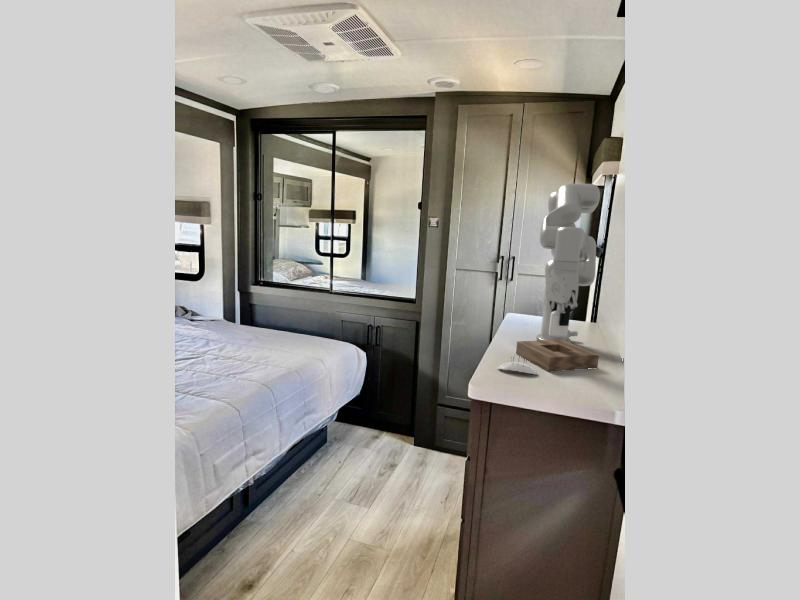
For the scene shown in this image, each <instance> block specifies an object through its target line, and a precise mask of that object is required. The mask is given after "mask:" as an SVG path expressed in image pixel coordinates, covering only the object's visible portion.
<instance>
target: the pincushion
mask: <svg viewBox="0 0 800 600" xmlns="http://www.w3.org/2000/svg"><path fill="white" fill-rule="evenodd" d="M512 358H513V359H512ZM520 358H521V357H520V356H518V361H509V362H505V363H503V364H500V365H499V366H497V367H498V368H497V369H498V370H503V371H505V370H506V371H508V370H509V371H510V370H511V372H516V373H517V374H518V373H522V374H521V375H524V374H533V375H536V376H537V375H538V376H539V374H538V371H537V370H536V369H535V368H534V367H532V366H530V365H528V364H527V362H528V361H527V360H525V359H524V358H523V362H520ZM510 359H511V360H515V356H513V357H512V356H511V358H510ZM525 362H526V363H525Z"/></svg>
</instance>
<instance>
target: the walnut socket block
mask: <svg viewBox="0 0 800 600" xmlns="http://www.w3.org/2000/svg"><path fill="white" fill-rule="evenodd" d="M516 354H517V355H516ZM515 355H516V356H518V355H519V356H521V357H520V358H522V359H523V360H524V359H526V360H528V361H527V362H529V361H530V362H529V363H531V364H533V365H535V366H536V365H537V367H538V366H539V368H540V369H541V370H544V371H546V372H548V373H550V372H551V371H554V372H563V371H562V370H569V371H576V370H575V369H585V370H589V369H588V368H597V369H598V367H599V366H598V365H599V359H600V354H598V353H595V352H594V351H591V350H589V349H587V348H584V347H581V346H578V345H575V344H573V343H572V342H571V343H569V342H567V341H564V340H542V341H539V340H523V341H522V340H519V341H516V350H515ZM519 356H518V357H519ZM526 360H525V361H526ZM551 373H552V372H551Z"/></svg>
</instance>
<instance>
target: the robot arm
mask: <svg viewBox="0 0 800 600" xmlns="http://www.w3.org/2000/svg"><path fill="white" fill-rule="evenodd" d="M600 199H601V192H600V188H599V187H598V186H597V184H593V183H567V184H566V183H565V184H563V185H561V186H560V187H559V189H558V190H556V191H553V192H552V193H551V194H550V195H549V196H548V204H547V205H548V209H547V210H548V213H547V214H546V216H544V218H543V219H542V222H541V225H540V226H541V227H540V233H539V244H540V246H541V247H542V249H543V248H544V249H546V250H551V251H550V252H551V255H552V257H553V258H552V259H549V260H548V261H547V262H546V265H545V267H544V275H545V278H544V279H545V280H544V281H545V287H544V289H545V290H544V302H543V310H542V319H541V321H542V322H541V330H540V333H539V334H537V335H536V336H535V340H536V341H542V340H564V341H567V342H569V343H571V344H572V342H571V341H572V340H571V339H570V337H577V336H579V332H578V330H575V331H574V330H573V331H571V330H570V329H568V335H567V337H564V338H560V337H551V336H550V335H549V326H550V317H551V313H552V312H553V311H556V310H557V304H558V303H560V304H562V313H560V320H559V325H560V326H568V325H570V316H571V314H572V312H573V311H574V309H576V308H578V305H579V304H578V302H577V301H578V298H579V297H578V296H579V287H588V286H589V287H590V286H591V285H593V283H594V282H595V279H596V264H597V262H596V261H597V260H596V259H597V243H596V240H595V238H593V236H590V235H587V233H586V231H585V230H584V229H583V228H581V227H577V226H576V222H577V221H579V219H580V218H581V216H582V214H592V213H593V212H594V211H595V210H596V208H597V207H598V205H599V203H600ZM568 327H569V326H568Z"/></svg>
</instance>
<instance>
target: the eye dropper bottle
mask: <svg viewBox="0 0 800 600" xmlns="http://www.w3.org/2000/svg"><path fill="white" fill-rule="evenodd" d="M560 313H562V304H560V303H558V304H557V310H556V311H553V312H552V313H551V317H550V326H549V335H550V336H551V337H560V338H564V337H567V335H568V330H569V327H570V326H569V325H570V324H569V325H568V326H560V325H559V320H560Z"/></svg>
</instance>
